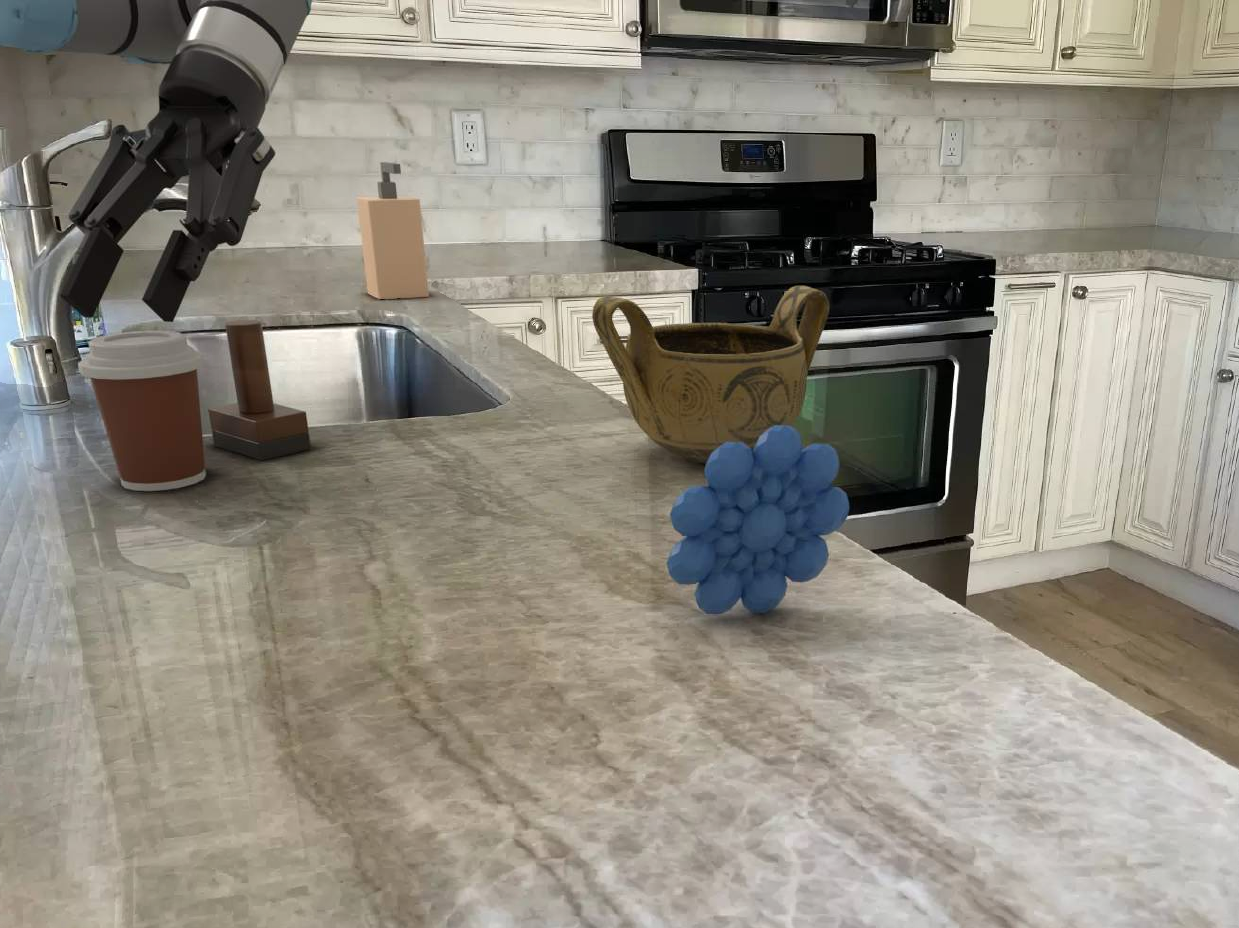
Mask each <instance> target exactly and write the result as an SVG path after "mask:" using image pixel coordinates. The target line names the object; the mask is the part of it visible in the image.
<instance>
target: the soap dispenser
mask: <svg viewBox="0 0 1239 928" xmlns="http://www.w3.org/2000/svg"><path fill="white" fill-rule="evenodd" d="M379 164H380V173H381V181H377V182H376V183H377V184H376V185H377V192H378V196H363V197H362V196H361V197H359V196H357V197H356V202H357V211H358V220H359V229H360V238H361V245H362V246H361V247H362V254H363V262H364V271H365V280H366V288H367V294H368V295H370V296H372V297H374V298H375V299H377V298H378V299H377V300H379V299H385V300H398V299H397V298H401V299H416V298H429V297H430V293H429V284H428V283H429V282H428V272H427V261H426V260H427V259H426V250H425V241H424V231H423V220H422V219H423V218H422V209H421V200H420V198H416V197H411V196H407V195H406V196H405V195H404V196H403V195H402V196H401V195H400V196H398V193H397V184H396V182H395V181H391V175H390V174H394V175H401V174H402V170H401V164H400V163H396V162H389V161H379Z"/></svg>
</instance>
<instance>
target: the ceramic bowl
mask: <svg viewBox="0 0 1239 928" xmlns="http://www.w3.org/2000/svg"><path fill="white" fill-rule="evenodd" d="M804 305H805V306H804ZM803 307H804V309H803V312H802V316H801V319H800V323H799V324H798V321H797V319H798V316H799V313H800V311H801V310H802V308H803ZM617 309H619V310H620V311H621V313H622V314H623V315H624V317H625V319H626V321H627V323H628V325H629V328H630V329H629V330H630V333H628V334H627V337H626V344H624V343H623V341H622V339H621V336H620V335H619V333H618V331H617V328H616V326H615V324H614V321H613V316H614V313H615V312H616V310H617ZM829 313H830V301H829V299H828V297H827V296H826V293H824V292H823V291H822V290H819V289H816V288H813V287H811V286H806V285H795V286H794V285H793V286H792V287H790V288H789V289H788V290H787V291H786V292H785V293H784V294H783V295H782V297H781V298H780V300H779V302H778V304H777V306H776V307H775V310H774V312H773V315H772V320H771V322H770V324H769V325H768V326H764V325H755V324H746V323H728V322H688V323H687V322H686V323H671V324H669V323H668V324H660V325H654V326H653V325H652V323H651V321H650V319H649V317H648V315H647V314H646V313H645V311H644V310H642V308H641V307H640V306H639V304H637V303H636V302H634V301H633V300H630V299H627V298H623V297H616V296H609V295H605V296H602V297H599V298H598V299H597V300H596V301H595V303H594V306H593V307H592V313H591V317H592V318H591V319H592V322H593V326H594V329H595V332H596V334H597V335H598V338H599V339H600V341H601V344H602V345H603V347H604V349H605V351H606V353H607V355H608V357H609V359H610V361H611V363H612V366H613V367H614V369H615V371H616V373H617V374H618V376H619V378H620V380H621V382H622V386H623V387H622V388H623V394H624V396H625V401H626V404H627V407H628V410H629V411H630V414H631V416H632V417H633V420H634V421H635V422H636V424H637V425H638V427H639V428H640V429H641V430H642V431H643V433H644V434H645V435H647V436H648V438H649V439H650V440H651V441H653V442H654V443H655V444H657V445H658V446H659V447H661V448H662V449H664V450H666V451H667V452H669V453H671V454H672V455H675V456H678V457H680V458H682V459H685V460H687V461H691V462H694V463H700V464H705V465H706V464H707V460H708V459H709V457H710V455H711V453H712V452H713V451H714V450H715V449H716V448H717V447H719V446H721V445H722V444H724V443H726V442H743V443H745V444H746V445H747V446H748V447H750V448H751V451H752V454H753V450H754V447H755V444H756V442H757V440H758V439H759V437H760V436H761V435H762V434H763V433H764V432H765V431H766V430H768V429H769V428H771V427H773V426H775V425H786V426H792V427H794V425H795V423H796V421H797V419H798V417H799V415H800V413H801V410H802V407H803V405H804V403H805V399H806V393H807V383H808V373H809V370H810V368H811V365H812V362H813V359H814V356H815V353H816V350H817V348H818V345H819V342H820V339H821V337H822V334H823V331H824V328H825V326H826V323H827V320H828V316H829Z"/></svg>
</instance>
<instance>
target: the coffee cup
mask: <svg viewBox="0 0 1239 928" xmlns="http://www.w3.org/2000/svg"><path fill="white" fill-rule="evenodd" d="M88 348H89V352H88V353H87V354H85V356H84V357H85V358H83V359H81V360H80V361H78V363H77V368H78V372H79V374H81V375H82V377H86V378H89V379H90V382H91V386H92V388H93V392H94V395H95V398H96V402H97V405H98V409H99V412H100V415H101V419H102V422H103V425H104V430H105V432H106V435H107V438H108V442H109V445H110V449H111V453H112V455H113V459H114V462H115V465H116V468H117V471H118V475H119V479H120V483H121V485H122V487H123V488H124V489H126V490H131V491H135V492H136V491H138V492H155V491H156V492H157V491H168V490H174V489H180V488H185V487H188V486H191V485H195V484H198V483H199V482H201V481H203V480H205V478H206V476H207V472H206V465H205V453H204V441H203V439H204V438H203V428H202V416H201V415H202V414H201V404H200V392H199V391H200V390H199V379H198V369H201V368H202V367H203V366H204V365H205V357H204V355H203V354H202V353H201V352H199V351H197V350H195V349H194V347H192V346H191V345H189V344H188V339H187V336H186V335H184V334H183V333H182V332H178V331H172V330H136V331H135V330H134V331H125V332H124V331H123V332H116V333H109V334H104V335H101V336H96V337H94V338H92V339H91V340H90V341H88Z"/></svg>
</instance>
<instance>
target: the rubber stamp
mask: <svg viewBox="0 0 1239 928" xmlns="http://www.w3.org/2000/svg"><path fill="white" fill-rule="evenodd" d="M224 326H225V333H226V337H227V338H226V339H227V345H228V352H229V357H230V365H231V369H232V376H233V383H234V389H235V393H236V401H237V402H235V403H229V404H225V405H219V406H214V407H209V408H207V412H208V416H209V417H208V418H209V423H210V428H211V435H212V439H213V440H212V441H213V445H214V447H217V448H220V449H223V450H227V451H230V452H232V453H236V454H240V455H243V456H245V457H249V458H251V459H256V460H258V461H268V460H272V459H275V458H279V457H284V456H288V455H292V454H296V453H301V452H304V451H309V450H311V449H312V446H311V440H310V433H309V432H310V431H309V424H308V416H307V411H305V410H301V409H297V408H293V407H289V406H286V405H285V406H284V405H280V404H277V403H274V398H273V390H272V384H271V383H272V382H271V378H270V371H269V365H268V356H267V351H266V344H265V336H264V331H263V323H262V321H261V320H258V319H239V320H231V321H227V322H225V324H224Z"/></svg>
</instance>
